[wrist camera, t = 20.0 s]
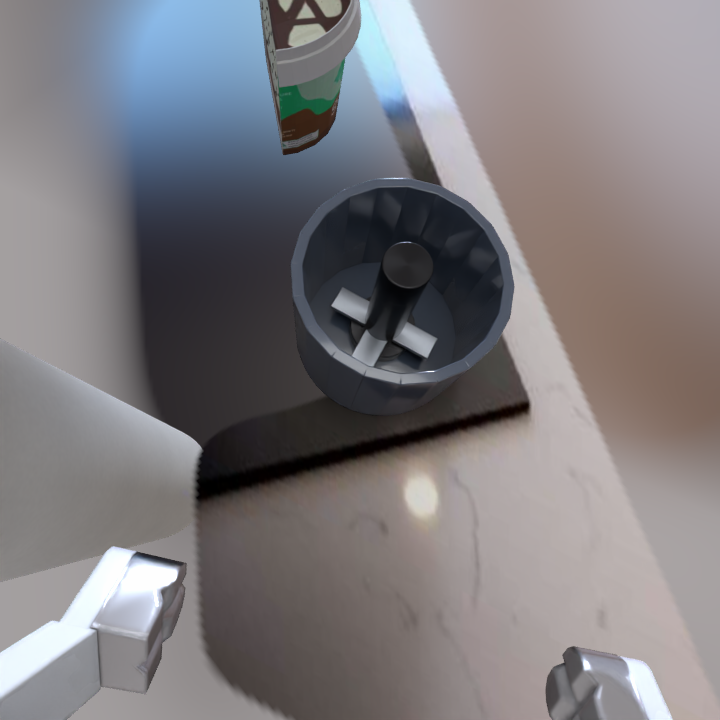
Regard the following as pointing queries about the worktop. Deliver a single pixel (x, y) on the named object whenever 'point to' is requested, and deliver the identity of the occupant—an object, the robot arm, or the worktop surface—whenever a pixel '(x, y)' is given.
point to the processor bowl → (433, 310)
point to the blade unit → (390, 307)
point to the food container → (307, 64)
